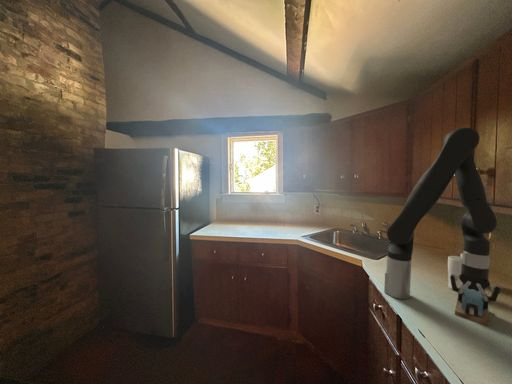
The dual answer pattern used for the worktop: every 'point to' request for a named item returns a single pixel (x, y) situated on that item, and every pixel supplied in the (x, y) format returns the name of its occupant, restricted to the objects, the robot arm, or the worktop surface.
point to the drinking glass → (454, 269)
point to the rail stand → (472, 313)
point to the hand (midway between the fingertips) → (472, 305)
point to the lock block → (472, 300)
